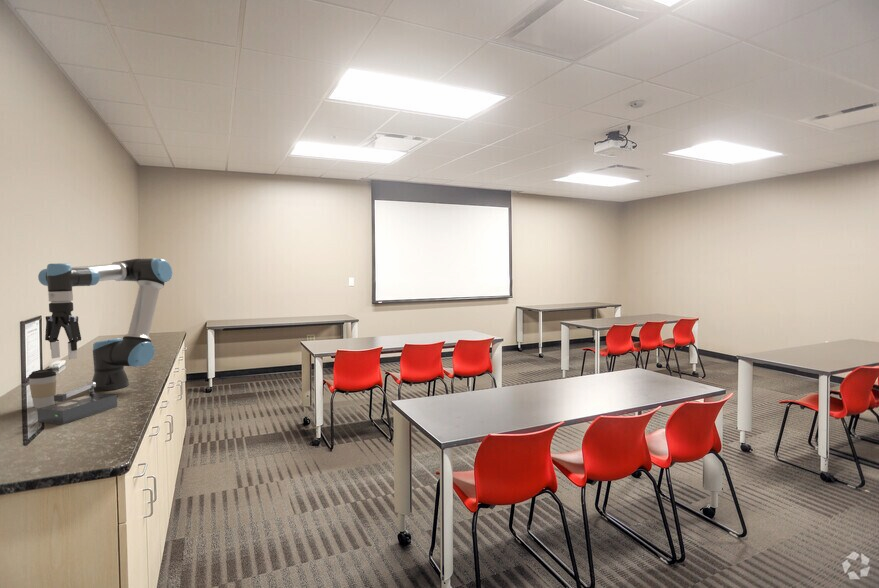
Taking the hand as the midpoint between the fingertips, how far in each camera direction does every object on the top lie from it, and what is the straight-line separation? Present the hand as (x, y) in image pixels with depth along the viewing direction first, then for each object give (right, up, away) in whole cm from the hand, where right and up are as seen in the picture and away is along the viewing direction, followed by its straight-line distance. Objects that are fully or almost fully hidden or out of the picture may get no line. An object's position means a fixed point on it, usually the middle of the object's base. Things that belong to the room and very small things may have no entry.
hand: (64, 358), depth 186 cm
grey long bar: (+8, -13, -3) cm, 16 cm away
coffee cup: (-15, -21, +8) cm, 27 cm away
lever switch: (+9, -21, -4) cm, 24 cm away
